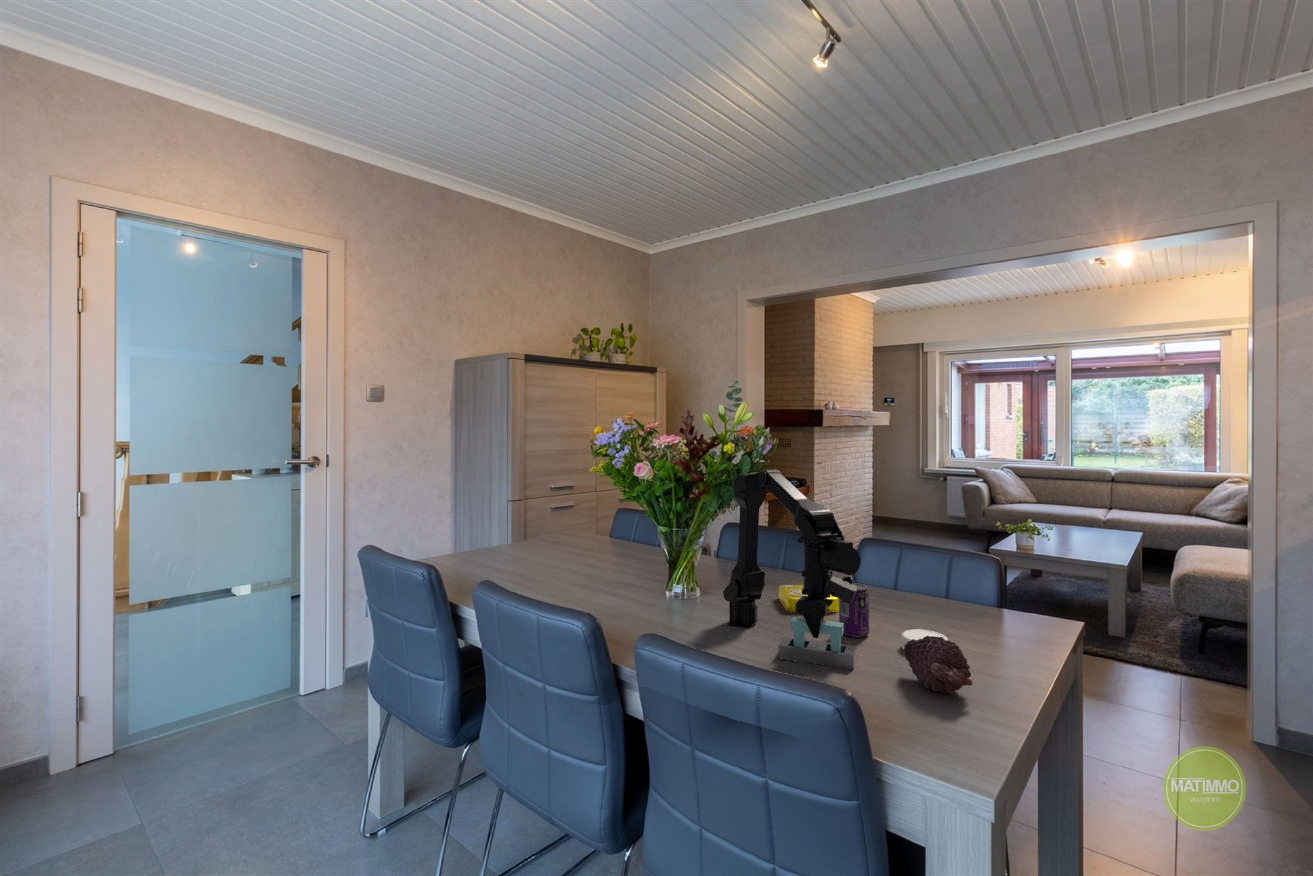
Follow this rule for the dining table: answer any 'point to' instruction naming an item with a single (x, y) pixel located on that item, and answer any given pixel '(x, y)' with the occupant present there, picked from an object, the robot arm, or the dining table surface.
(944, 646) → the pine cone
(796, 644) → the clip
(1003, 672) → the dining table surface
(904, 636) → the coaster
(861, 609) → the beverage can
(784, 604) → the element tile
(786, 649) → the grey slotted base block
